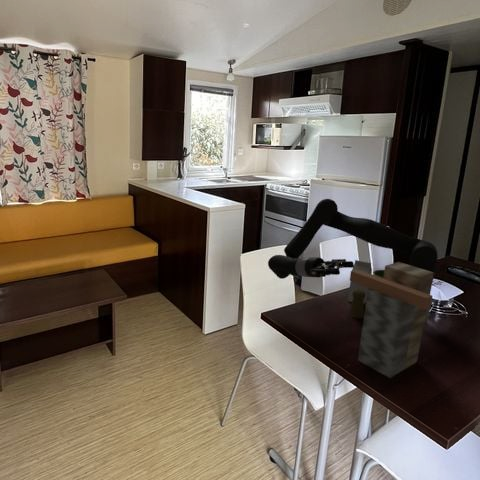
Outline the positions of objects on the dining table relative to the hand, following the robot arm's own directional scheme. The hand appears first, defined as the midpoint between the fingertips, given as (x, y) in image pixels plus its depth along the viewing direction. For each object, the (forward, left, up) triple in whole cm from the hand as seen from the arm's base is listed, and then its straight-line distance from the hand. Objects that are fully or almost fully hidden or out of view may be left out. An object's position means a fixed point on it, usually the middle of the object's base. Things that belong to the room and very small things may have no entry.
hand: (346, 267), depth 134 cm
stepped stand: (-12, +15, -28) cm, 34 cm away
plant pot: (-38, -38, -28) cm, 60 cm away
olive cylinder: (-16, -19, -28) cm, 37 cm away
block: (-7, +16, -3) cm, 18 cm away
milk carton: (-23, -33, -28) cm, 49 cm away
